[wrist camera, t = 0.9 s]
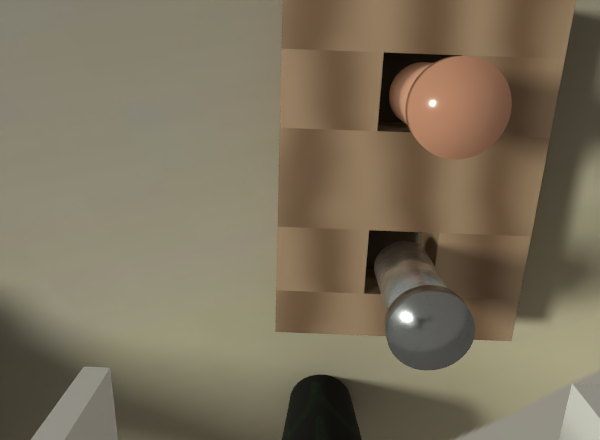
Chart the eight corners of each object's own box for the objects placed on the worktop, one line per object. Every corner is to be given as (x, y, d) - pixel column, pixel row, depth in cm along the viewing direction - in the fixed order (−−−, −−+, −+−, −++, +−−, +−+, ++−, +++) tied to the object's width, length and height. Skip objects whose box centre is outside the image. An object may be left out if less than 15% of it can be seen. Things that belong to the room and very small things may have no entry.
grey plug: (366, 295, 37) (383, 368, 28) (371, 233, 35) (390, 291, 27) (431, 298, 37) (468, 372, 28) (439, 236, 35) (481, 294, 27)
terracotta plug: (379, 131, 33) (404, 157, 25) (386, 54, 32) (414, 54, 23) (453, 133, 33) (502, 161, 25) (463, 56, 32) (519, 57, 23)
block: (279, 301, 43) (275, 331, 39) (286, -3, 36) (282, -12, 31) (489, 309, 43) (511, 341, 38) (540, 6, 36) (576, -1, 31)
